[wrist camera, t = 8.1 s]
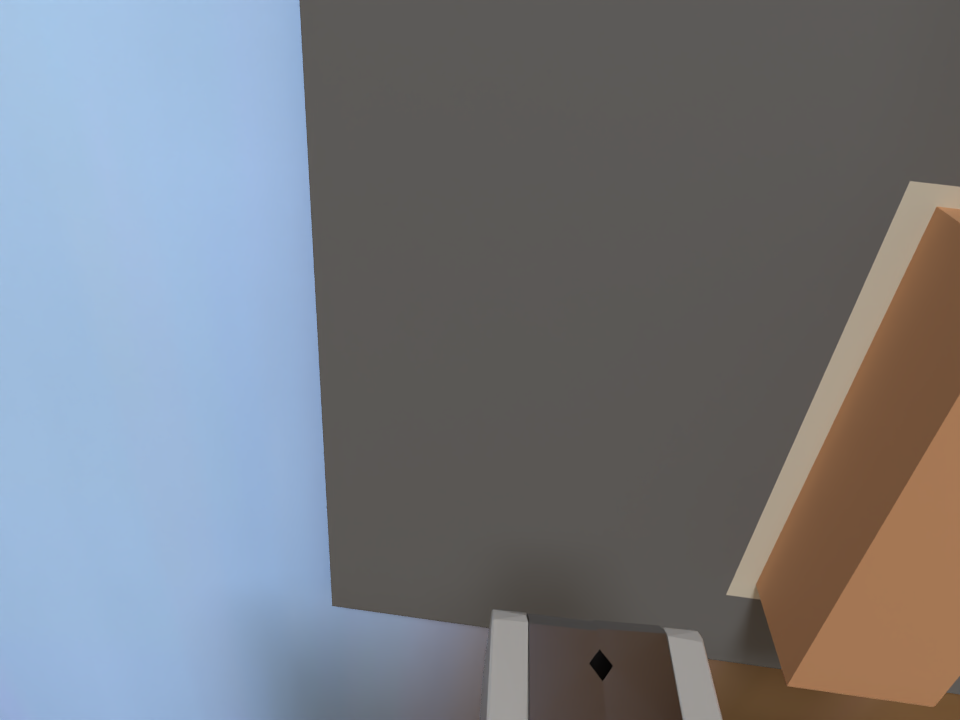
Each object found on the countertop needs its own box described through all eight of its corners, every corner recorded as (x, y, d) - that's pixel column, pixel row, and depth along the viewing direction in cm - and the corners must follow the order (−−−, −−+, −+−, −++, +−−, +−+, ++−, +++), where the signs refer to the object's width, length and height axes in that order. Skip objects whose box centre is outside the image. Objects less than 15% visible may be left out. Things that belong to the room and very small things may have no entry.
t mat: (336, 592, 21) (332, 605, 21) (305, -72, 12) (295, -73, 11) (1134, 704, 20) (1146, 720, 20) (1825, 85, 11) (1878, 91, 10)
